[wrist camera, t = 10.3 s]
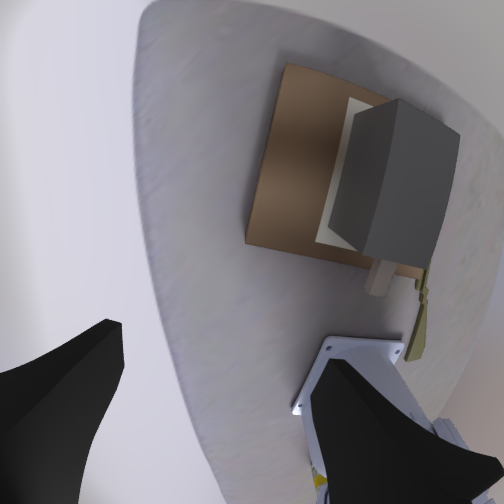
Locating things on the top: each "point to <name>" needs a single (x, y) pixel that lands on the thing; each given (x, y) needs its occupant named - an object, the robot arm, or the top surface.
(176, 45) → the top surface
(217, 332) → the top surface
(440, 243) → the top surface
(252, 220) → the pin board
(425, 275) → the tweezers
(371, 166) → the block
